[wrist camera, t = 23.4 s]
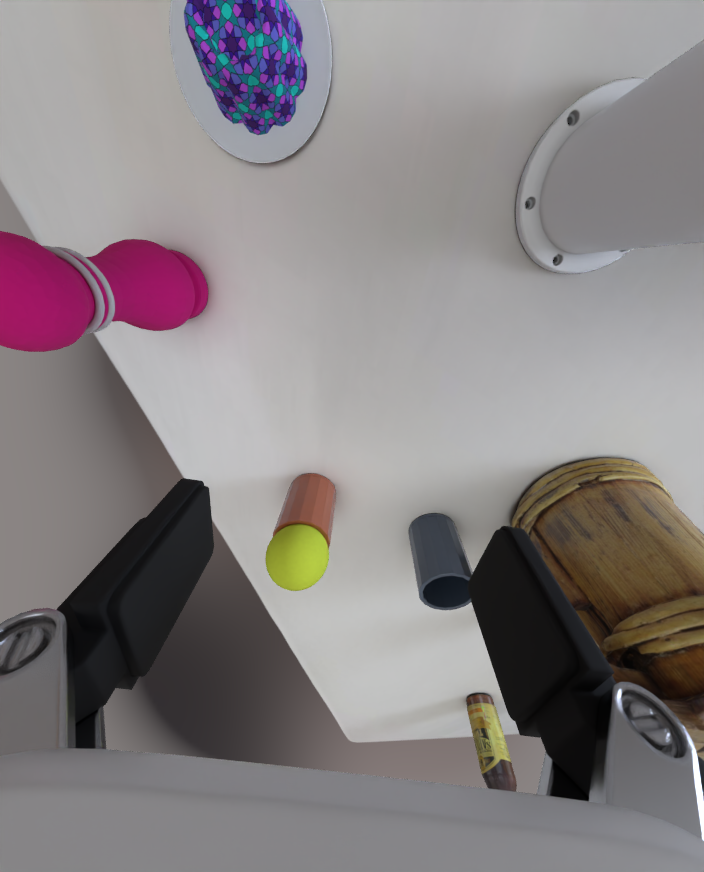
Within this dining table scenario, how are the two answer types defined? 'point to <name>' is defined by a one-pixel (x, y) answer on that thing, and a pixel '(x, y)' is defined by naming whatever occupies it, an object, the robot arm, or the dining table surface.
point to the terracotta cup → (309, 504)
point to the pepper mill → (92, 291)
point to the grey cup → (439, 562)
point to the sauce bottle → (490, 743)
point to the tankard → (627, 574)
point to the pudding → (253, 71)
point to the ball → (297, 557)
